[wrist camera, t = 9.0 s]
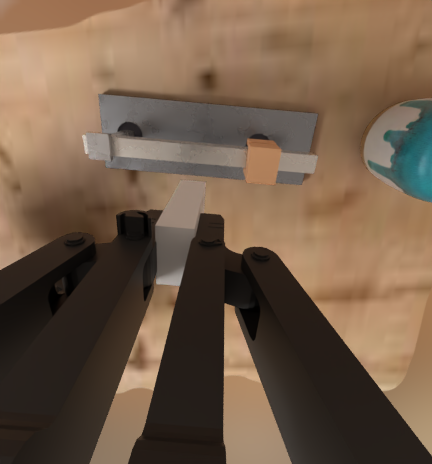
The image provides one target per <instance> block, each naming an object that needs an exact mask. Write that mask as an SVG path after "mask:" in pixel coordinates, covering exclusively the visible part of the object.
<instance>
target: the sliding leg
mask: <svg viewBox="0 0 432 464" xmlns="http://www.w3.org/2000/svg"><path fill="white" fill-rule="evenodd" d="M247 146H248V153H247V160H246V168H244V169H243V172H244V176H245V179H246V183H256V184H267V185H275V183H276V178H277V172H278V167H279V161H280V156H281V151H282V149H281V148H280V147H278V146H277V145H276V143H275V142H274V141H271V140H260V139H249V138H247Z"/></svg>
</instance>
